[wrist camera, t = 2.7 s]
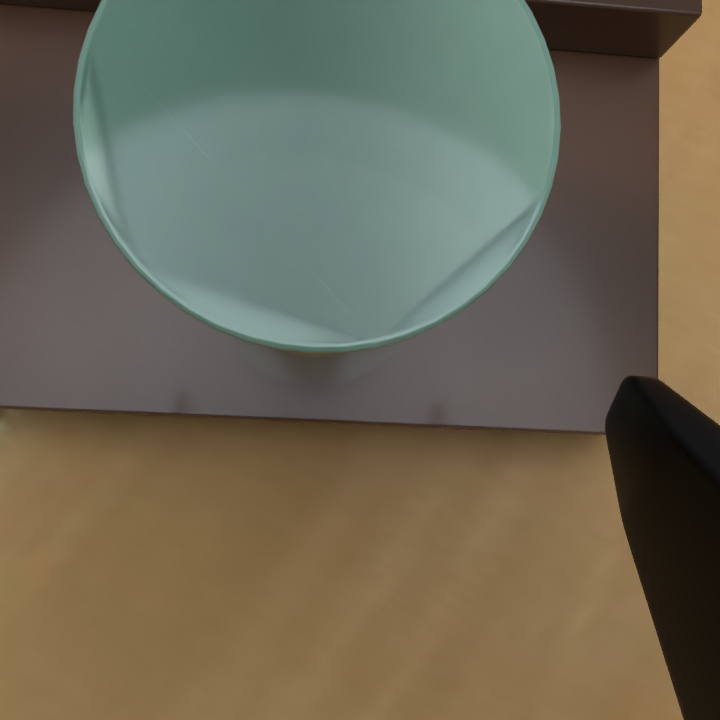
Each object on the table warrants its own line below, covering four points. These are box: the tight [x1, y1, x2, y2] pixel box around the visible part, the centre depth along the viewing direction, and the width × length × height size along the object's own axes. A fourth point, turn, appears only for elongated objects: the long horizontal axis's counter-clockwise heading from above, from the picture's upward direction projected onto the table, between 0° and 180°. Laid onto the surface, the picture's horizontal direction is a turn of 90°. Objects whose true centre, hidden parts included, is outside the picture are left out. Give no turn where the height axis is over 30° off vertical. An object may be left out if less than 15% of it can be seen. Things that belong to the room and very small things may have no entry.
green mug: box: [73, 0, 561, 386], centre depth 13 cm, size 8×6×9 cm
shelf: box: [0, 0, 702, 435], centre depth 18 cm, size 11×18×5 cm, turn 88°
